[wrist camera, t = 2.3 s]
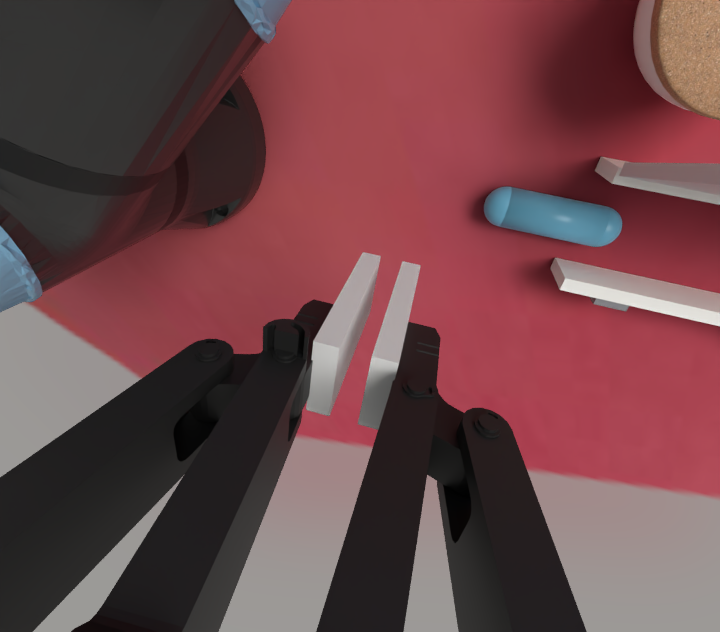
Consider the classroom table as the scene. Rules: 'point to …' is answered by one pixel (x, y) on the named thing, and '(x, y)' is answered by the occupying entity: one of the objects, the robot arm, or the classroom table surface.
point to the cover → (677, 175)
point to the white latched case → (634, 289)
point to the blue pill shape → (552, 216)
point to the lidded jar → (681, 52)
